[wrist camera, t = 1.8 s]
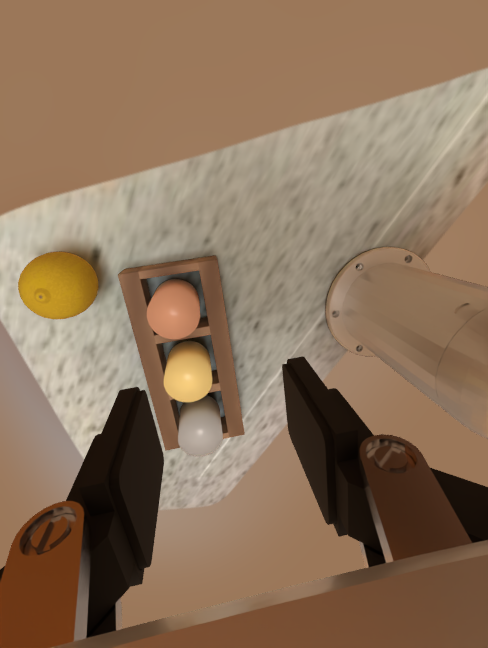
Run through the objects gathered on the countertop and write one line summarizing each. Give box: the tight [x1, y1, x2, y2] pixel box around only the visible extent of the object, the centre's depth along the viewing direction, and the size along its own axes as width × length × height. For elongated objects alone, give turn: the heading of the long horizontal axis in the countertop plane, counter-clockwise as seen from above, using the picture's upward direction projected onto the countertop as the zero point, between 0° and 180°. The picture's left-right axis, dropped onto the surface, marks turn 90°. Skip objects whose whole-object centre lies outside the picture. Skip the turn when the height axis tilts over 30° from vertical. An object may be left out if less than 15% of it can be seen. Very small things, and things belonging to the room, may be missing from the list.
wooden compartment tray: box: [118, 256, 244, 450], centre depth 34 cm, size 9×20×3 cm, turn 7°
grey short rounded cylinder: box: [178, 395, 223, 456], centre depth 33 cm, size 4×4×4 cm
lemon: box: [18, 252, 98, 319], centre depth 27 cm, size 6×6×8 cm
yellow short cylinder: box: [164, 341, 212, 402], centre depth 31 cm, size 4×4×4 cm
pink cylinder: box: [147, 279, 200, 339], centre depth 29 cm, size 4×4×4 cm
